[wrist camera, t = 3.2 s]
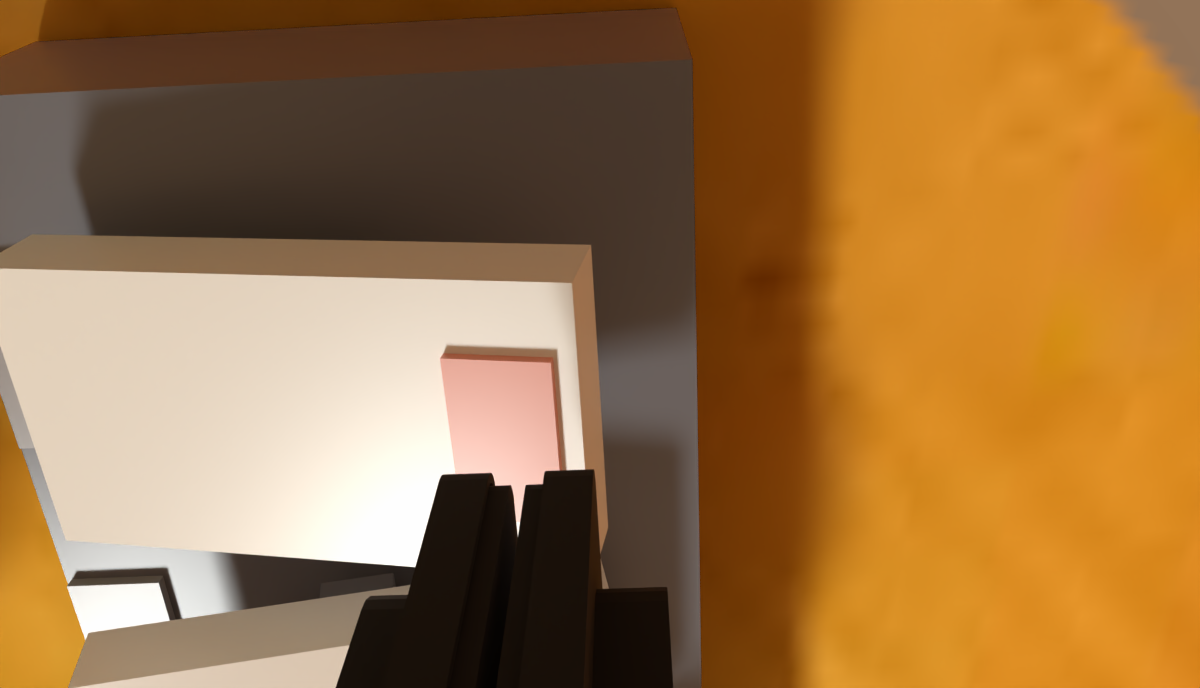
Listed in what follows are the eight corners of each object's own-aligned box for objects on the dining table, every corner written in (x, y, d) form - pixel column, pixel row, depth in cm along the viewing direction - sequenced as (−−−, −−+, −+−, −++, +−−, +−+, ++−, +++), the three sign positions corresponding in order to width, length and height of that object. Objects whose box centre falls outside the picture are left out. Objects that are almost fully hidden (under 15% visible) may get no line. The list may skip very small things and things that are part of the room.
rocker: (70, 211, 16) (-34, 272, 14) (602, 219, 15) (569, 288, 13) (142, 462, 18) (60, 546, 16) (618, 491, 17) (590, 587, 15)
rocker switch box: (36, 41, 19) (-108, 104, 15) (676, 7, 18) (693, 63, 15) (260, 839, 28) (206, 1002, 24) (692, 825, 27) (706, 989, 24)
